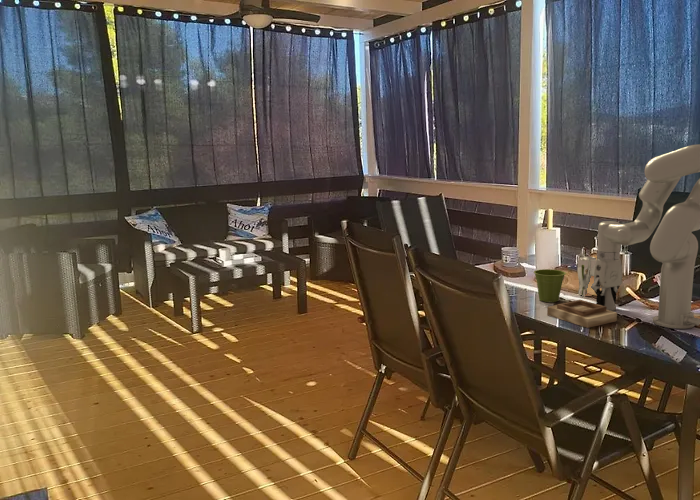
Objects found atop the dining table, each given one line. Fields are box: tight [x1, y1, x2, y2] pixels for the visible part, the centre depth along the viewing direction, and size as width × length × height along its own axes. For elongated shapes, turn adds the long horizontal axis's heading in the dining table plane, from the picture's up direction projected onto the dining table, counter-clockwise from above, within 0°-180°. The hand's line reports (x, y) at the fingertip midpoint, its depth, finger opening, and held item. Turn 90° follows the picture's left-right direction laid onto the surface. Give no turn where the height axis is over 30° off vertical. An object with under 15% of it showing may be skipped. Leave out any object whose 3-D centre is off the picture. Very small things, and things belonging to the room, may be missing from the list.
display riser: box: [546, 299, 618, 329], centre depth 214 cm, size 18×14×4 cm
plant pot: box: [533, 268, 567, 303], centre depth 237 cm, size 12×12×11 cm
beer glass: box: [577, 256, 597, 297], centre depth 243 cm, size 7×7×15 cm
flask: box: [604, 288, 617, 312], centre depth 223 cm, size 7×7×10 cm
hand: (606, 303), depth 224 cm, fingers closed on flask, 5 cm apart
